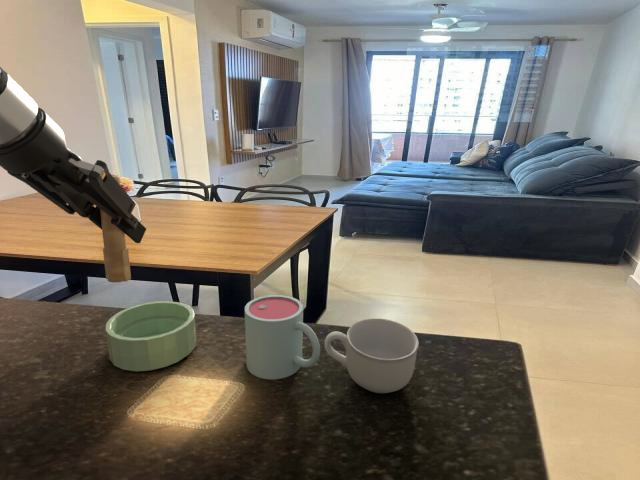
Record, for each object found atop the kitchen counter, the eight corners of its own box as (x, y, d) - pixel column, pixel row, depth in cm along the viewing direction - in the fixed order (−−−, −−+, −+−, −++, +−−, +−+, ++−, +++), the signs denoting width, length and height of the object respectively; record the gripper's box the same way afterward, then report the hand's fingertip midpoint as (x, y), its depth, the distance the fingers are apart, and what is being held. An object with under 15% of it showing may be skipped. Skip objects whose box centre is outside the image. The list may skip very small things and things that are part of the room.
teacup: (417, 368, 63) (421, 325, 60) (409, 413, 53) (415, 362, 50) (335, 351, 67) (337, 310, 65) (315, 389, 57) (316, 342, 55)
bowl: (92, 358, 63) (86, 325, 61) (159, 323, 74) (156, 295, 73) (148, 384, 57) (144, 349, 55) (212, 342, 68) (211, 312, 67)
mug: (234, 364, 62) (232, 308, 59) (273, 340, 69) (273, 290, 67) (298, 400, 54) (299, 338, 52) (335, 369, 62) (338, 314, 59)
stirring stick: (101, 281, 58) (89, 176, 55) (115, 274, 61) (105, 174, 57) (121, 283, 58) (111, 177, 54) (135, 277, 61) (126, 175, 57)
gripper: (-71, 149, 41) (78, 250, 61) (52, 155, 38) (167, 260, 58) (-29, 101, 45) (99, 211, 65) (87, 102, 41) (183, 219, 61)
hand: (130, 234), depth 61 cm, fingers closed on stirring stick, 3 cm apart
